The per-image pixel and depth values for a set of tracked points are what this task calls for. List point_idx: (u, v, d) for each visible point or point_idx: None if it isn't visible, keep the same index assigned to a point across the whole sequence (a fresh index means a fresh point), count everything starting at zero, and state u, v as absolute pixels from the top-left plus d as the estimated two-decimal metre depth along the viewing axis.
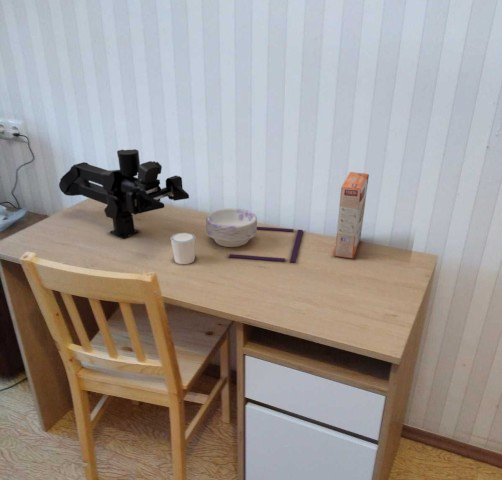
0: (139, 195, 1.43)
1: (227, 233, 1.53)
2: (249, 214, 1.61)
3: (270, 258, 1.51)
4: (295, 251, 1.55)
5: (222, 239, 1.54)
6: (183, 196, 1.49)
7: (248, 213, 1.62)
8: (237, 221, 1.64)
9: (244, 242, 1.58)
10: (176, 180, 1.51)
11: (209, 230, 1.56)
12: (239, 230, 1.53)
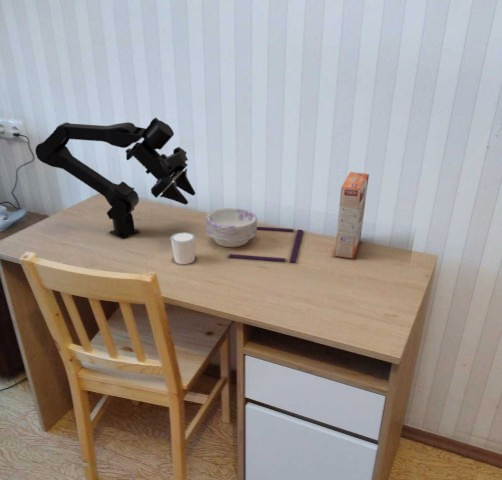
0: (172, 185, 1.49)
1: (227, 233, 1.53)
2: (249, 214, 1.61)
3: (270, 258, 1.51)
4: (295, 251, 1.55)
5: (222, 239, 1.54)
6: (188, 190, 1.60)
7: (248, 213, 1.62)
8: (237, 221, 1.64)
9: (244, 242, 1.58)
10: (186, 170, 1.59)
11: (209, 230, 1.56)
12: (239, 230, 1.53)
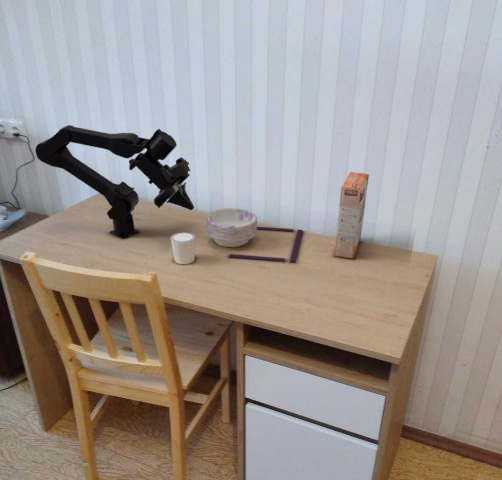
0: (179, 191, 1.54)
1: (227, 233, 1.53)
2: (249, 214, 1.61)
3: (270, 258, 1.51)
4: (295, 251, 1.55)
5: (222, 239, 1.54)
6: None
7: (248, 213, 1.62)
8: (237, 221, 1.64)
9: (244, 242, 1.58)
10: (184, 184, 1.58)
11: (209, 230, 1.56)
12: (239, 230, 1.53)
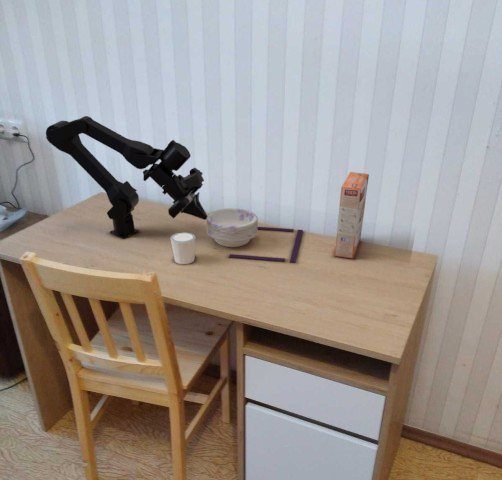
0: (193, 202, 1.55)
1: (227, 233, 1.53)
2: (250, 214, 1.61)
3: (270, 258, 1.51)
4: (295, 251, 1.55)
5: (223, 239, 1.54)
6: None
7: (249, 213, 1.62)
8: (238, 221, 1.64)
9: (245, 242, 1.58)
10: (198, 194, 1.59)
11: (210, 230, 1.56)
12: (240, 230, 1.53)
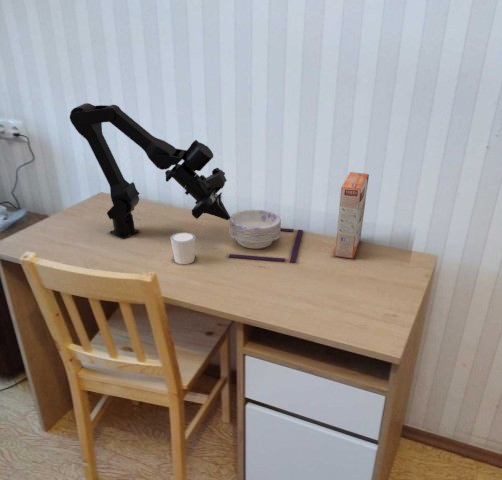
0: (216, 202, 1.53)
1: (252, 234, 1.52)
2: (272, 215, 1.60)
3: (270, 258, 1.51)
4: (295, 251, 1.55)
5: (247, 241, 1.53)
6: None
7: (271, 214, 1.61)
8: (260, 222, 1.63)
9: (268, 243, 1.57)
10: (220, 194, 1.57)
11: (233, 232, 1.55)
12: (264, 232, 1.52)
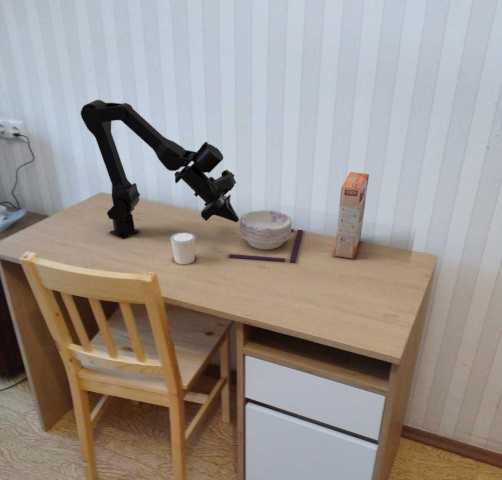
0: (225, 204, 1.53)
1: (263, 235, 1.51)
2: (283, 216, 1.60)
3: (270, 258, 1.51)
4: (295, 251, 1.55)
5: (258, 241, 1.53)
6: None
7: (282, 215, 1.60)
8: (270, 223, 1.62)
9: (279, 244, 1.57)
10: (229, 196, 1.57)
11: (244, 232, 1.54)
12: (275, 233, 1.51)
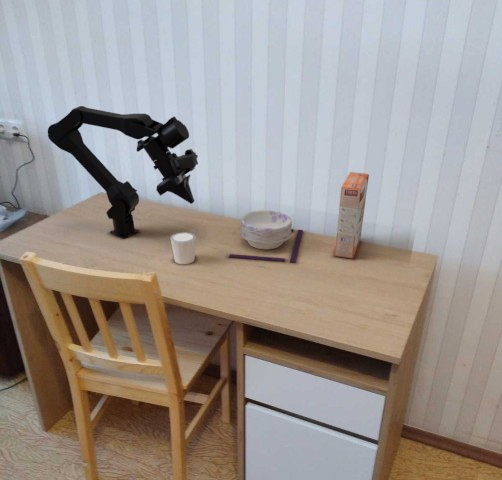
0: (183, 183, 1.51)
1: (263, 235, 1.51)
2: (283, 216, 1.60)
3: (270, 258, 1.51)
4: (295, 251, 1.55)
5: (258, 241, 1.53)
6: None
7: (282, 215, 1.60)
8: (270, 223, 1.62)
9: (279, 244, 1.57)
10: (189, 177, 1.55)
11: (244, 232, 1.54)
12: (275, 233, 1.51)
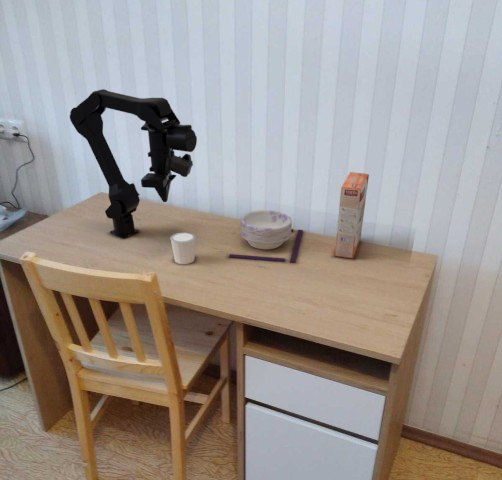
0: (167, 183, 1.48)
1: (263, 235, 1.51)
2: (283, 216, 1.60)
3: (270, 258, 1.51)
4: (295, 251, 1.55)
5: (258, 241, 1.53)
6: None
7: (282, 215, 1.60)
8: (270, 223, 1.62)
9: (279, 244, 1.57)
10: (174, 177, 1.52)
11: (244, 232, 1.54)
12: (275, 233, 1.51)
